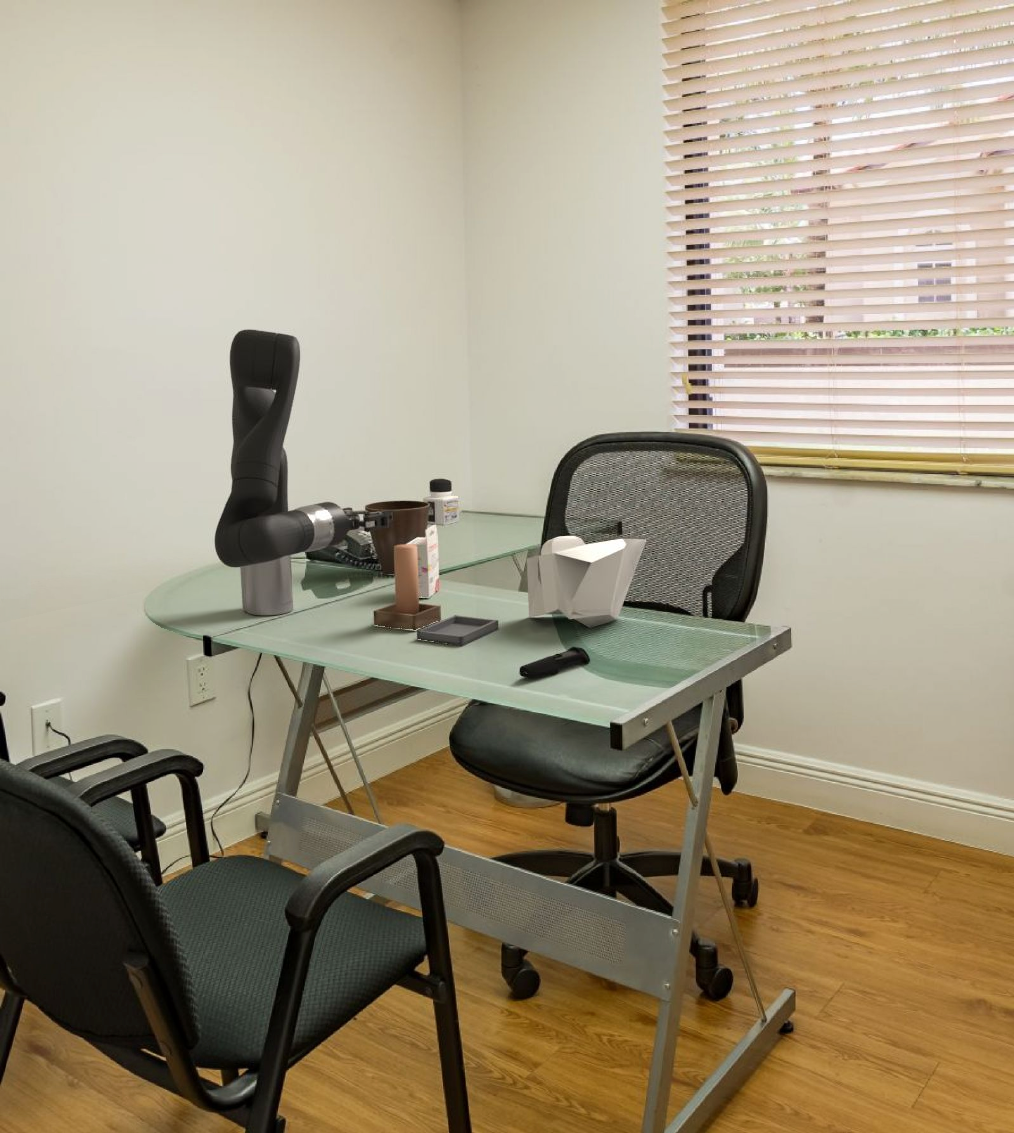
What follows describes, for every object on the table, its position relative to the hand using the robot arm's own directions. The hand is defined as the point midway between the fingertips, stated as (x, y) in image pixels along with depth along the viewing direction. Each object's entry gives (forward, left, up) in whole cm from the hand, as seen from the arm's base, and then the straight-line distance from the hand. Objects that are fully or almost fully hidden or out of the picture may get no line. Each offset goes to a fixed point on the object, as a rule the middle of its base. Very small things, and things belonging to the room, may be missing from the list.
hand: (370, 514), depth 204 cm
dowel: (0, +11, -23) cm, 25 cm away
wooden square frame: (0, +11, -23) cm, 25 cm away
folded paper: (+31, +28, -23) cm, 48 cm away
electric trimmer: (+39, -5, -23) cm, 46 cm away
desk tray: (+13, +8, -23) cm, 27 cm away
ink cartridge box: (-11, +34, -23) cm, 43 cm away
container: (-59, +120, -23) cm, 136 cm away
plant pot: (-29, +52, -23) cm, 63 cm away
